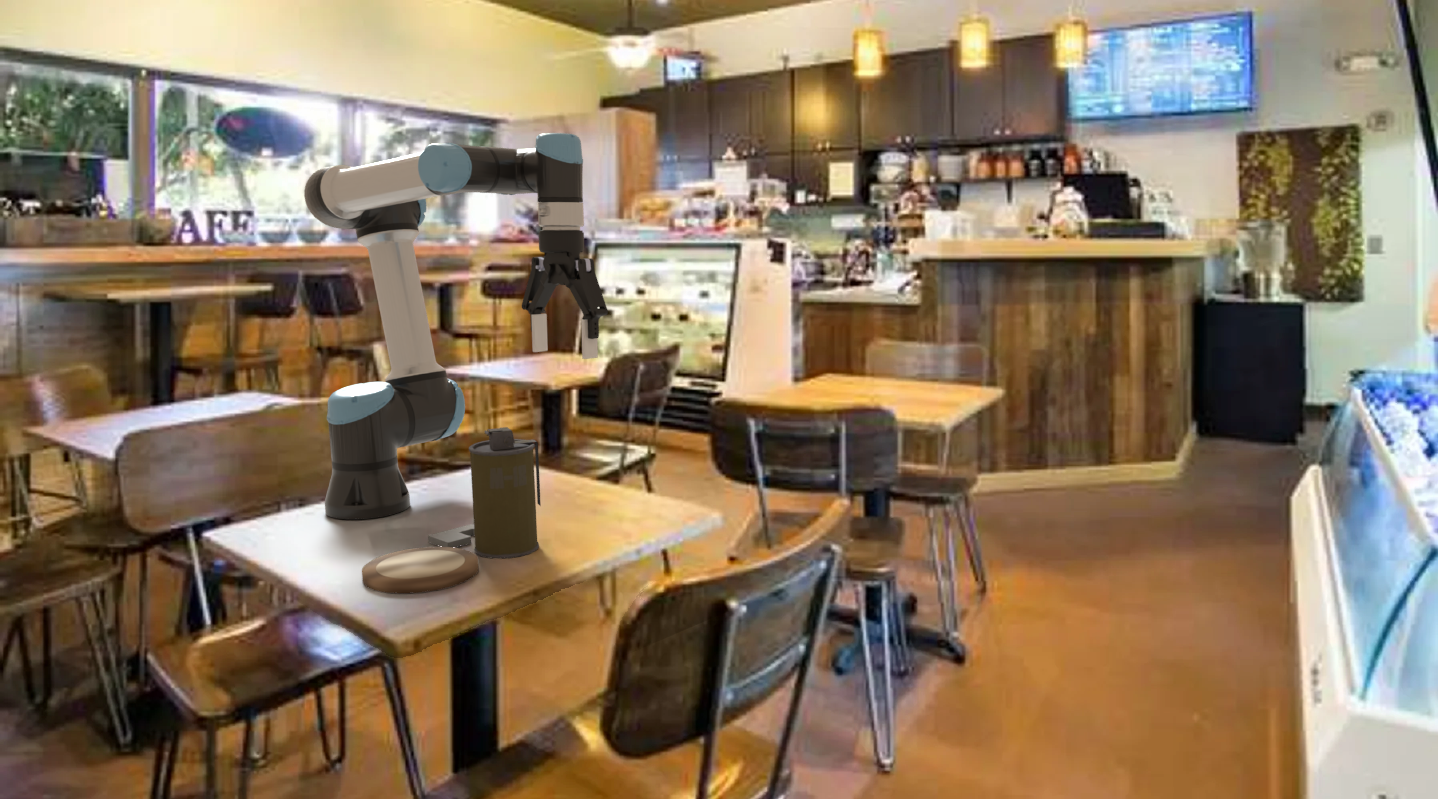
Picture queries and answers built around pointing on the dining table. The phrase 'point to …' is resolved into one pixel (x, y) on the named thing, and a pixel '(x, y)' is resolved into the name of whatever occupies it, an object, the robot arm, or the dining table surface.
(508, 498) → the canister
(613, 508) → the dining table surface
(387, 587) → the beige plate
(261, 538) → the dining table surface
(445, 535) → the notched board
